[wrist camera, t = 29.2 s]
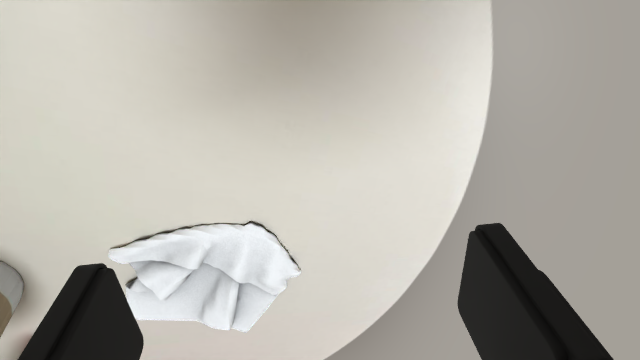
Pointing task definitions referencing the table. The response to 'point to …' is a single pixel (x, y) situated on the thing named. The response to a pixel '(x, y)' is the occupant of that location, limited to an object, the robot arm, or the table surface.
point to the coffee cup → (9, 293)
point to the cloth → (207, 275)
